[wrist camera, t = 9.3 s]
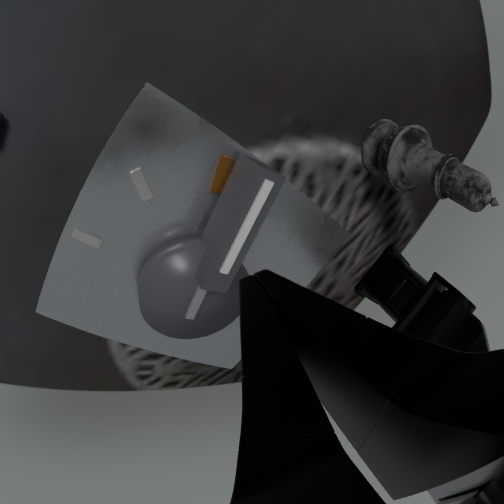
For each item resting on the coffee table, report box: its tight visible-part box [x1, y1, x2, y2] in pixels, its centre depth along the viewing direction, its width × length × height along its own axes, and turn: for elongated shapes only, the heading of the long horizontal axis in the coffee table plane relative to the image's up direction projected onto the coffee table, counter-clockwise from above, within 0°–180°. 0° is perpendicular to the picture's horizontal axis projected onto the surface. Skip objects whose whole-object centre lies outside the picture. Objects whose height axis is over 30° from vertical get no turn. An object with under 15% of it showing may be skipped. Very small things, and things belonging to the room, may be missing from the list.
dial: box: [137, 153, 286, 339], centre depth 19 cm, size 14×8×4 cm, turn 152°
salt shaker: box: [361, 119, 498, 212], centre depth 18 cm, size 6×6×12 cm
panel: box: [36, 83, 350, 369], centre depth 22 cm, size 20×18×1 cm
